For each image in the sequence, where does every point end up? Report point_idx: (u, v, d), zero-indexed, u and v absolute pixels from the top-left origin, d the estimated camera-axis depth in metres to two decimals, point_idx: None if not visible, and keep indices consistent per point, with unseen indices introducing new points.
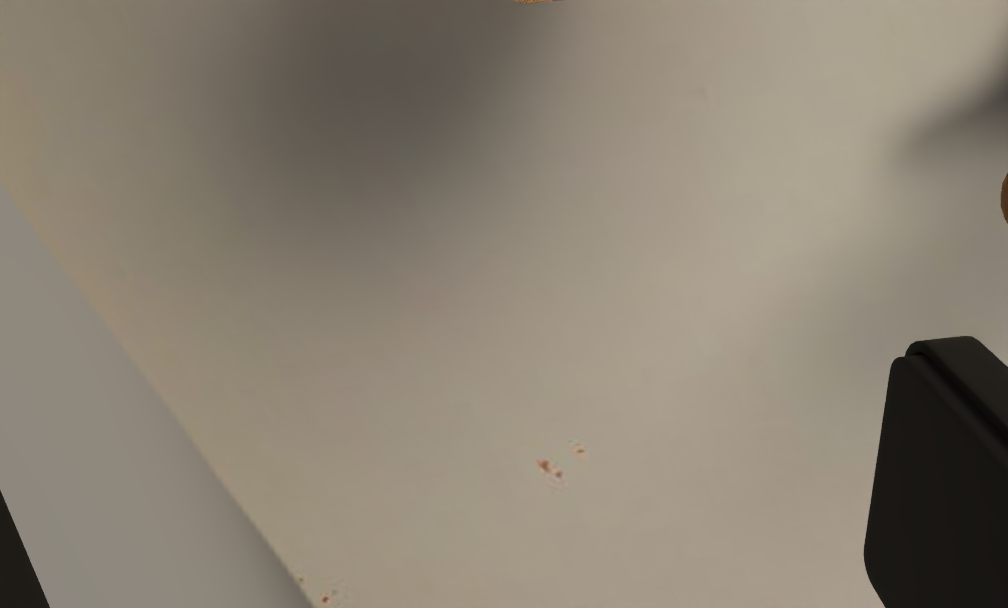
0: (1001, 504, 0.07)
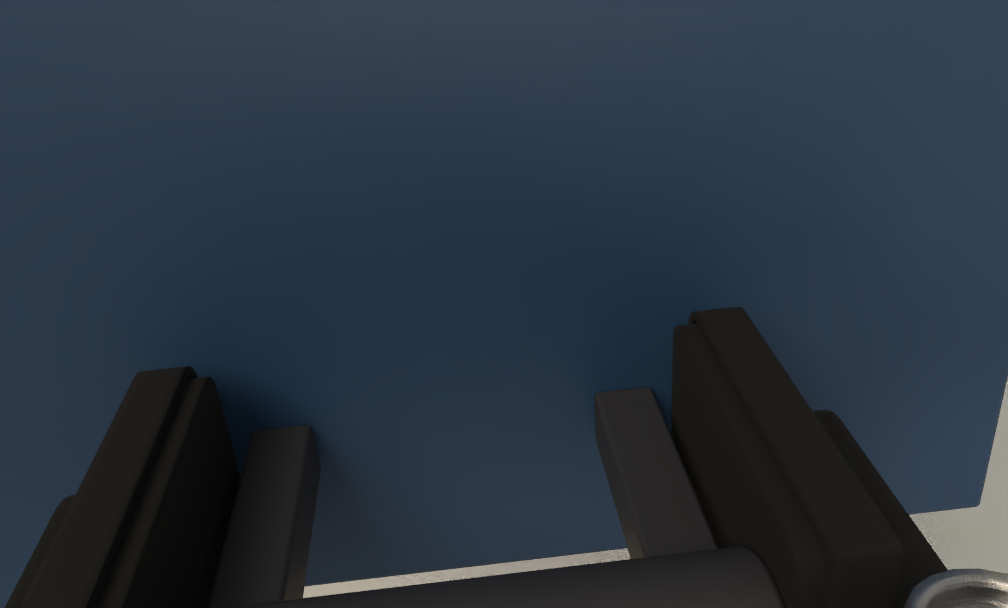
0: (726, 452, 0.08)
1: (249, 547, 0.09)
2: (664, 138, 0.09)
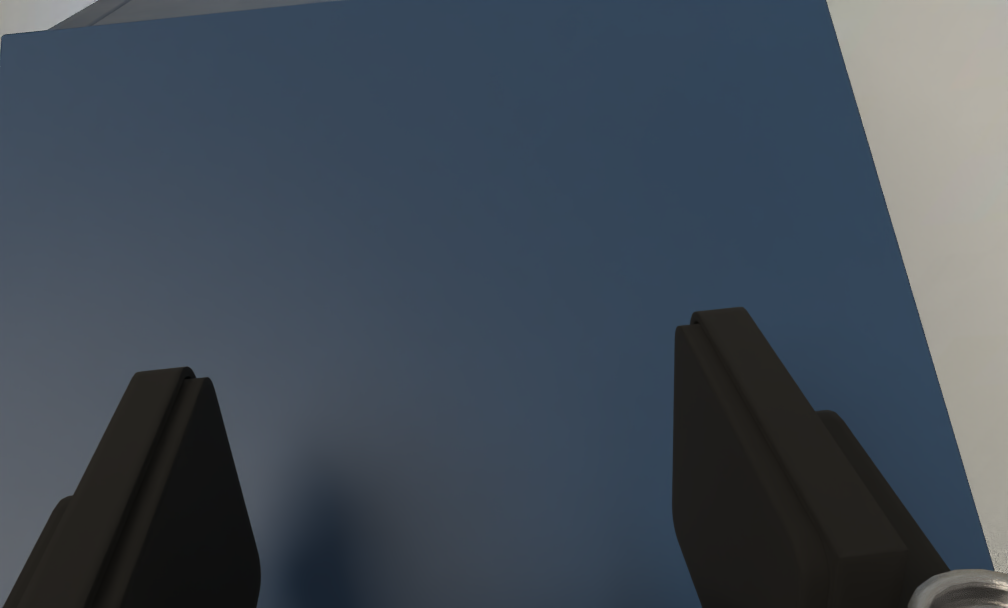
0: (729, 452, 0.08)
1: None
2: (640, 433, 0.13)
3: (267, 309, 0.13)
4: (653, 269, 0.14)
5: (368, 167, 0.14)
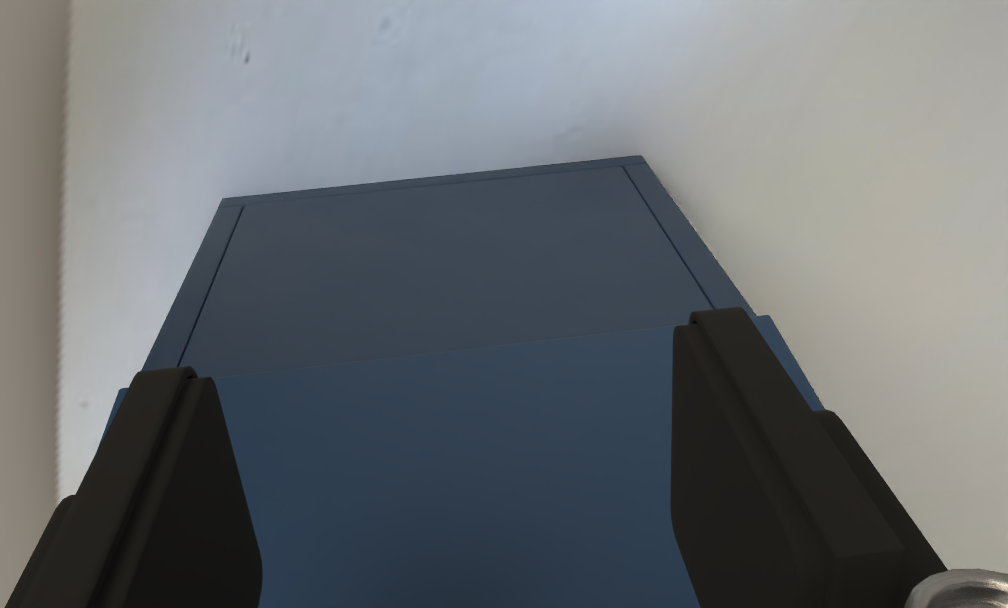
0: (726, 451, 0.08)
1: None
2: None
3: (307, 574, 0.15)
4: (661, 533, 0.15)
5: (407, 466, 0.16)
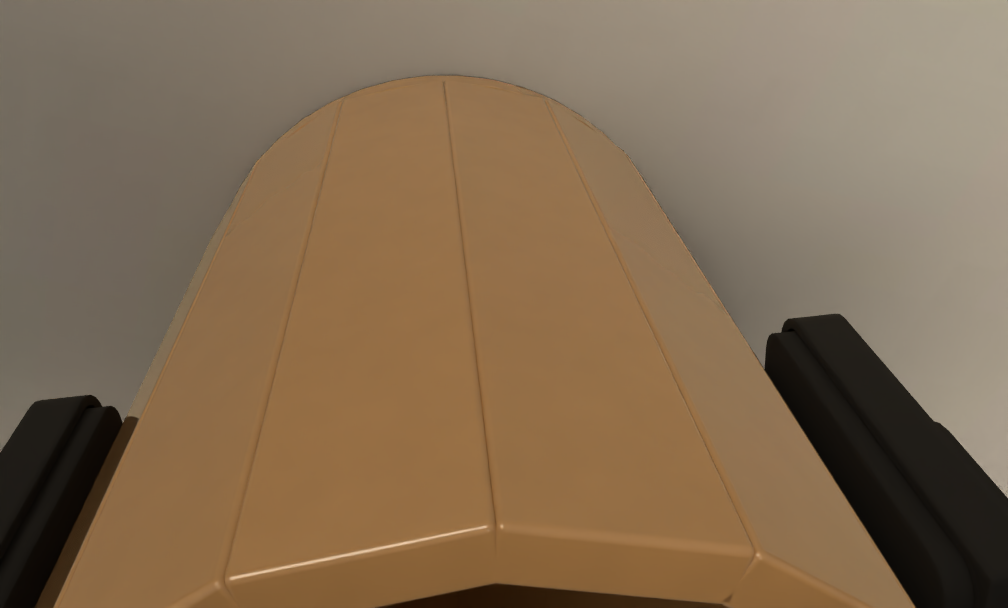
0: (842, 465, 0.08)
1: None
2: None
3: None
4: None
5: None
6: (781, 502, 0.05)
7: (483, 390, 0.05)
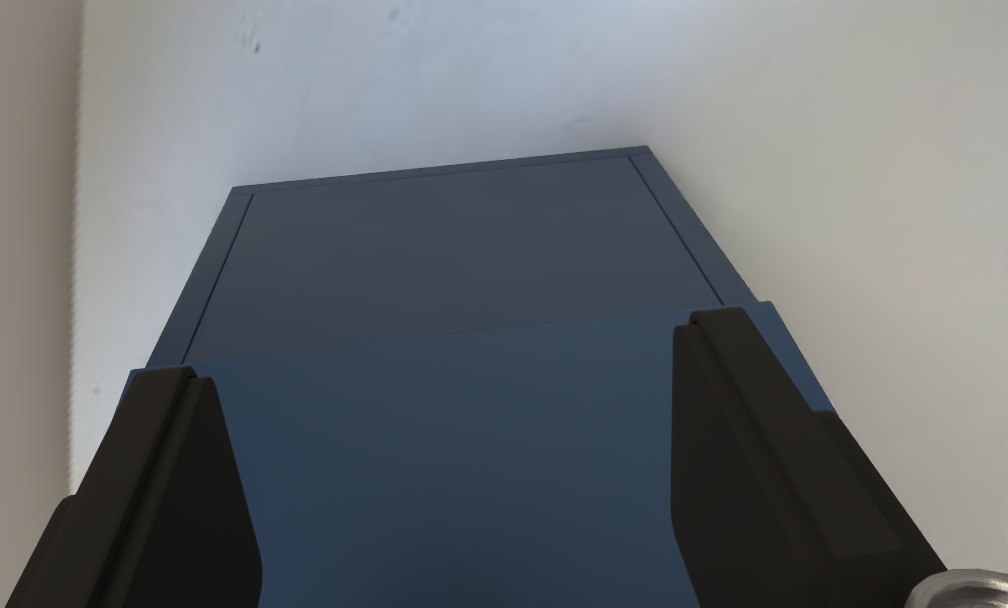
0: (726, 452, 0.08)
1: None
2: None
3: (313, 547, 0.15)
4: (660, 510, 0.15)
5: (411, 444, 0.17)
6: None
7: None
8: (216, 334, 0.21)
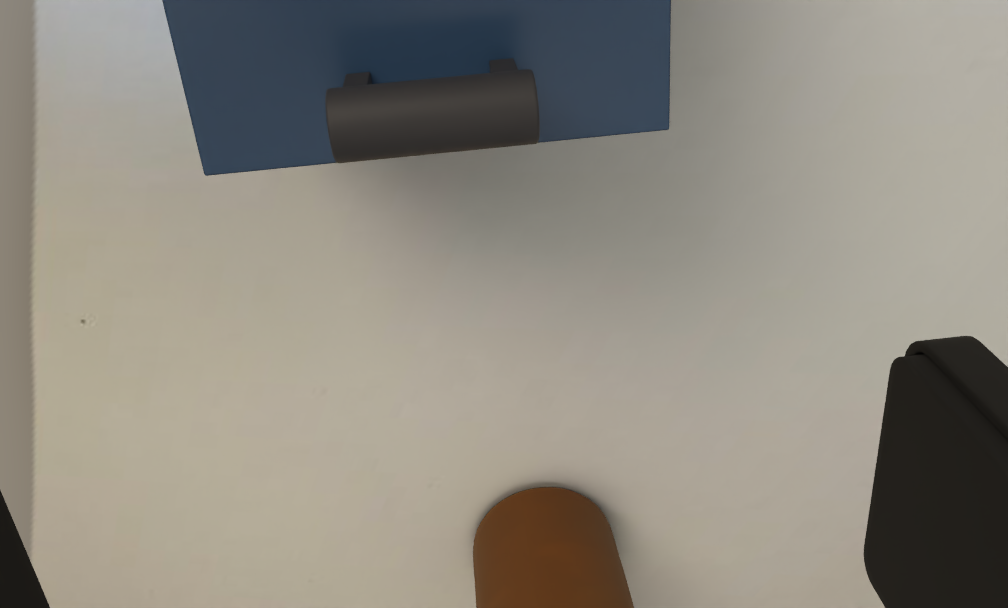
0: (1001, 504, 0.07)
1: None
2: None
3: None
4: None
5: None
6: None
7: None
8: None
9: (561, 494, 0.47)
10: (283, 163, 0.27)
